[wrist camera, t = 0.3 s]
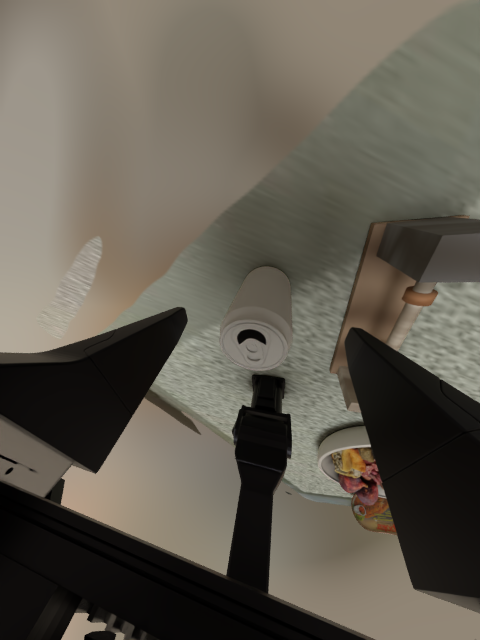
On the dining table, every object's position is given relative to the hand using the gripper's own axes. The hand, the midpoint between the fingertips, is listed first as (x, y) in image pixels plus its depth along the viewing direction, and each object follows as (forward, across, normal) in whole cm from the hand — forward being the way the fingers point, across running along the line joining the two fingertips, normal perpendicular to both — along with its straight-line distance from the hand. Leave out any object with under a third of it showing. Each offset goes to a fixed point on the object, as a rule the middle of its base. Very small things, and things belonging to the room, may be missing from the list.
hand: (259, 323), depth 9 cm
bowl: (+15, -30, +44) cm, 55 cm away
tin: (+16, -40, +75) cm, 86 cm away
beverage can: (+14, +1, +4) cm, 15 cm away
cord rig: (+14, -14, +7) cm, 21 cm away
